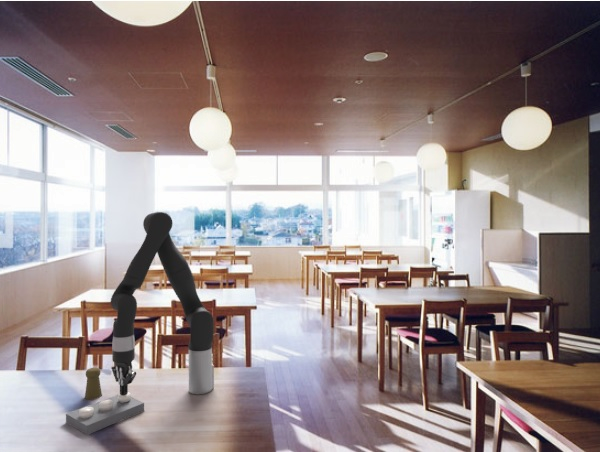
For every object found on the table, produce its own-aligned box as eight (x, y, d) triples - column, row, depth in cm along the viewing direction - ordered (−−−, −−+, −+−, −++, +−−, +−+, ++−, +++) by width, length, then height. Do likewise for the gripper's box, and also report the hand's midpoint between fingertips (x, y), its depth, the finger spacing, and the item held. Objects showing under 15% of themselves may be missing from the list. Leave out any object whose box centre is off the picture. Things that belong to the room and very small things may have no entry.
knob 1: (89, 419, 149) (89, 405, 149) (96, 423, 147) (96, 409, 147) (76, 424, 146) (76, 410, 146) (83, 428, 143) (83, 413, 143)
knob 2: (126, 403, 161) (126, 391, 161) (133, 407, 158) (133, 393, 158) (115, 408, 157) (115, 395, 157) (122, 411, 155) (122, 398, 154)
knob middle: (108, 412, 155) (108, 398, 155) (115, 415, 152) (115, 401, 152) (96, 416, 152) (96, 403, 151) (103, 420, 149) (103, 406, 149)
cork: (95, 400, 165) (94, 371, 165) (81, 398, 166) (80, 370, 166) (105, 393, 171) (104, 366, 171) (91, 392, 172) (91, 365, 172)
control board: (122, 400, 165) (122, 393, 165) (144, 410, 156) (144, 402, 156) (66, 422, 148) (65, 413, 148) (86, 434, 139) (86, 425, 139)
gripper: (143, 348, 156) (143, 395, 157) (123, 341, 164) (123, 386, 164) (124, 353, 150) (124, 402, 151) (104, 346, 158) (104, 393, 158)
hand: (123, 394), depth 158 cm, fingers closed
